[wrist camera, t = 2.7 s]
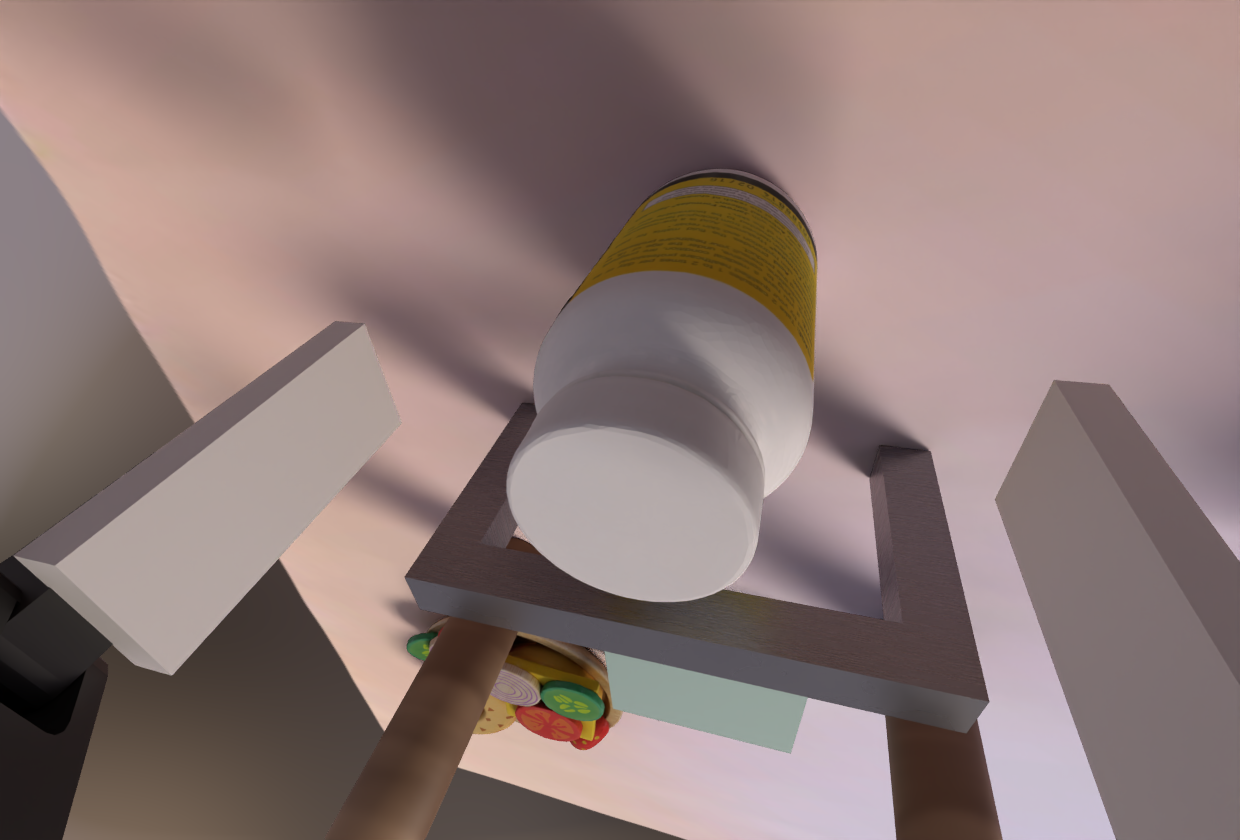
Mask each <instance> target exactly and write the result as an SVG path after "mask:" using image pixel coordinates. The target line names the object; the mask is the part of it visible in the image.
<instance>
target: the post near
mask: <svg viewBox="0 0 1240 840" xmlns="http://www.w3.org/2000/svg"><path fill="white" fill-rule="evenodd" d="M885 718H886V729H887V740H888V751H889V762H890V773H891V784H892V795H893V806H894V817H895V828H896V839H897V840H1003V839H1002V834H1001V830H1000V825H999V820H998V816H997V811H996V806H995V801H994V797H993V792H992V787H991V782H990V778H989V773H988V768H987V764H986V759H985V754H984V749H983V745H982V740H981V735H980V731H979V726H978V721H977V719H976V721H975V722H974V724H973V725H972V726H971V728H970V729H969V730H968V732H967V733H962V732H957V731H953V730H948V729H944V728H940V727H935V726H931V725H926V724H922V723H918V722H913V721H909V720H905V719H900V718H896V717H891V716H887V715H885Z"/></svg>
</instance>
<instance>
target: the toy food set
mask: <svg viewBox="0 0 1240 840" xmlns="http://www.w3.org/2000/svg"><path fill="white" fill-rule="evenodd" d="M448 619H449V617H447V618H444V619H442V620H440V621H438V622H437V623H435V624H434V625H432V626H431V627H430V628H429V630H428V631H427V633H421V634H418V635H414V636H413V637H411V638H410V639H409V640H408V643H407V651H408V652H409V653H410V654H411V655H413V656H414V657H416V658H418V659H421V660H424V661H425V659H426V658H427V656H428V654H429V652H430V651H431V649H432V647H433V645H434V644H435V642H436V640H437V638H438V636H439V635H440V633H441V631H442V629H443V628H444V626H445V624H446V622H447V621H448ZM622 712H623V711H620V710H616V709H613V706H612V699H611V692H610V686H609V679H608V672H607V669H606V668H605V667H604V666H603V664H602V663H601V662H600V661H599V660H598V659H597V658H596V657H595V656H594V655H593V654H591V653H590V652H589V651H588V650H587V649H585V648H584V647H582V646H580V645H575V644H571V643H566V642H562V641H558V640H553V639H549V638H544V637H540V636H536V635H531V634H527V633H522V632H518V633H517V636H516V638H515V640H514V642H513V645H512V647H511V649H510V651H509V653H508V656H507V658H506V660H505V662H504V665H503V667H502V669H501V671H500V674H499V676H498V678H497V680H496V682H495V685H494V687H493V689H492V691H491V694H490V696H489V698H488V700H487V702H486V705H485V707H484V709H483V711H482V714H481V716H480V718H479V720H478V722H477V725H476V727H475V729H474V731H473V734H491V733H496V732H498V731H501V730H504V729H506V728H508V727H509V726H510V725H511V724H512V723H513V722H514V721H516V722H519V723H521V724H522V725H523V726H524V727H526V728H527V729H528V730H530V731H532V732H534V733H535V734H538V735H540V736H542V737H544V738H548V739H552V740H557V741H566V742H567V741H570V742H571V744H572V745H573V746H574V747H575V748H577V749H580V750H587V749H590V748H592V747H594V746H595V745H596V744H598V743H599V742H600V741H601V740H602V739H603V738H604V737H605V736H606V734H607V733H608V731H609V728H611V727H613V726H614V725H615V724H616V723H617V722H618V721H619V720H620V718H621V716H622Z"/></svg>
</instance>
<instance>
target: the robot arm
mask: <svg viewBox="0 0 1240 840" xmlns="http://www.w3.org/2000/svg"><path fill="white" fill-rule="evenodd" d="M401 423H402V422H401V419H400V416H399V414H398V411H397V408H396V406H395V403H394V400H393V398H392V395H391V392H390V390H389V387H388V384H387V382H386V379H385V376H384V374H383V371H382V368H381V366H380V363H379V360H378V358H377V355H376V352H375V350H374V347H373V344H372V342H371V339H370V336H369V334H368V331H367V328H366V326H365V324H363V323H351V322H339V321H335V322H333V323H332V324H331V325H329V326H328V327H327V328H325V329H324V330H322V331H321V332H320V333H318V334H317V335H316V336H314V337H313V338H311V339H310V340H309V341H307V342H306V343H305V344H303V345H302V346H300V347H299V348H298V349H296V350H295V351H294V352H292V353H291V354H289V355H288V356H287V357H285V358H284V359H283V360H281V361H280V362H278V363H277V364H276V365H274V366H273V367H272V368H270V369H269V370H267V371H266V372H265V373H263V374H262V375H261V376H259V377H258V378H256V379H255V380H254V381H252V382H251V383H250V384H248V385H247V386H245V387H244V388H243V389H241V390H240V391H239V392H237V393H236V394H234V395H233V396H232V397H230V398H229V399H228V400H226V401H225V402H223V403H222V404H221V405H219V406H218V407H217V408H215V409H214V410H212V411H211V412H210V413H208V414H207V415H206V416H204V417H203V418H201V419H200V420H199V421H197V422H196V423H195V424H193V425H192V426H191V427H189V428H188V429H186V430H185V431H184V432H182V433H181V434H179V435H178V436H177V437H175V438H174V439H173V440H171V441H170V442H169V443H167V444H166V445H164V446H163V447H162V448H160V449H159V450H158V451H156V452H155V453H153V454H151V455H150V456H149V457H147V458H146V459H145V460H143V461H142V462H140V463H139V464H138V465H136V466H135V467H133V468H132V469H131V470H129V471H128V472H127V473H126V474H124V475H123V476H122V477H120V478H118V479H117V480H116V481H115V482H113V483H112V484H110V485H109V486H107V487H106V488H105V489H103V491H101V492H100V493H99V494H96V495H95V496H94V497H92V498H91V499H89V500H88V501H87V502H85V503H84V504H83V505H81V506H80V507H79V508H77V509H76V510H74V511H73V512H72V513H70V514H69V515H67V516H66V517H65V518H63V519H62V520H61V521H59V522H58V523H56V524H55V525H54V526H52V527H51V528H50V529H48V530H47V531H45V532H44V533H43V534H41V535H40V536H39V537H37V538H36V539H34V540H33V541H32V542H31V543H29V544H28V545H26V546H25V547H23V548H22V549H21V550H19V551H18V552H17V553H15V554H14V555H13V556H11V557H9V558H8V559H6V560H5V561H3V562H2V563H0V840H62V838H63V835H64V831H65V828H66V824H67V820H68V817H69V813H70V810H71V806H72V802H73V798H74V795H75V792H76V788H77V785H78V781H79V778H80V774H81V770H82V767H83V763H84V760H85V756H86V752H87V749H88V745H89V741H90V738H91V735H92V731H93V727H94V724H95V720H96V717H97V713H98V710H99V706H100V702H101V699H102V695H103V692H104V688H105V684H106V681H107V677H108V664H107V663H106V662H105V661H104V660H103V659H102V658H101V657H100V656H101V655H102V654H103V653H104V652H105V651H106V650H107V649H108V648H109V647H110V646H111V645H113V646H115V647H116V648H117V649H118V650H119V651H120V652H121V653H123V655H124V656H126V657H127V658H128V659H129V660H130V661H131V662H132V663H133V664H135V665H137V666H140V667H144V668H147V669H151V670H154V671H158V672H161V673H165V674H168V675H173V674H174V673H175V671H176V670H177V669H178V668H179V667H180V666H181V665H182V664H183V663H184V662H185V660H186V659H187V658H188V657H189V656H190V655H191V653H192V652H194V650H195V649H196V648H197V647H198V646H199V645H200V644H201V643H202V642H203V641H204V639H206V637H207V636H208V635H209V634H210V633H211V632H212V631H213V630H214V628H216V626H217V625H218V624H219V623H220V622H221V621H222V620H223V619H224V618H225V617H226V615H227V614H228V613H229V612H230V611H231V610H232V609H233V608H234V607H235V606H236V604H237V603H238V602H239V601H240V600H241V599H242V598H243V597H244V596H245V594H247V592H248V591H249V590H250V589H251V588H252V587H253V586H254V585H255V584H256V583H257V581H258V580H259V579H260V578H261V577H262V576H263V574H265V573H266V572H267V570H268V569H269V568H270V567H271V566H272V565H273V564H274V563H275V562H276V561H277V560H278V558H279V557H280V556H281V555H282V554H283V553H284V552H285V551H286V550H287V549H288V547H289V546H290V545H291V544H292V543H293V542H294V541H295V540H296V539H297V538H298V536H299V535H300V534H301V533H302V532H303V531H304V530H305V529H306V528H307V527H308V526H309V524H310V523H311V522H312V521H313V520H314V519H315V518H316V517H317V516H318V515H319V513H320V512H321V511H322V510H323V509H324V508H325V507H326V506H327V505H328V504H329V502H330V501H331V500H332V499H333V498H334V497H335V496H336V495H337V494H338V493H339V491H340V490H341V489H342V488H343V487H344V486H345V485H346V484H347V483H348V482H349V481H350V479H351V478H352V477H353V476H354V475H355V474H356V473H357V472H358V471H359V470H360V468H361V467H362V466H363V465H364V464H365V463H366V462H367V461H368V460H369V459H370V457H371V456H372V455H373V454H374V453H375V452H376V451H377V450H378V449H379V448H380V447H381V445H382V444H383V443H384V442H385V441H386V440H387V439H388V438H389V437H390V436H391V434H392V433H393V432H394V431H395V430H396V429H397V428H398V427H399V426H400V425H401ZM995 501H996V504H997V507H998V509H999V512H1000V515H1001V518H1002V521H1003V523H1004V526H1005V529H1006V532H1007V535H1008V537H1009V540H1010V543H1011V546H1012V549H1013V551H1014V554H1015V557H1016V560H1017V563H1018V565H1019V568H1020V571H1021V574H1022V577H1023V580H1024V582H1025V585H1026V588H1027V591H1028V594H1029V596H1030V599H1031V602H1032V605H1033V608H1034V610H1035V613H1036V616H1037V619H1038V622H1039V624H1040V627H1041V630H1042V633H1043V636H1044V638H1045V641H1046V644H1047V647H1048V650H1049V652H1050V655H1051V658H1052V661H1053V664H1054V667H1055V669H1056V672H1057V675H1058V678H1059V681H1060V683H1061V686H1062V689H1063V692H1064V695H1065V697H1066V700H1067V703H1068V706H1069V709H1070V711H1071V714H1072V717H1073V720H1074V723H1075V725H1076V728H1077V731H1078V734H1079V737H1080V739H1081V742H1082V745H1083V748H1084V751H1085V754H1086V756H1087V759H1088V762H1089V765H1090V768H1091V770H1092V773H1093V776H1094V779H1095V782H1096V784H1097V787H1098V790H1099V793H1100V796H1101V798H1102V801H1103V804H1104V807H1105V810H1106V812H1107V815H1108V818H1109V821H1110V824H1111V826H1112V829H1113V832H1114V835H1115V838H1116V840H1240V562H1239V560H1238V559H1237V558H1236V556H1235V555H1234V554H1233V552H1232V551H1231V550H1230V548H1229V547H1228V545H1227V544H1226V543H1225V541H1224V540H1223V539H1222V537H1221V536H1220V535H1219V533H1218V532H1217V531H1216V529H1215V528H1214V526H1213V525H1212V524H1211V522H1210V521H1209V520H1208V518H1207V517H1206V516H1205V514H1204V513H1203V511H1202V510H1201V509H1200V507H1199V506H1198V505H1197V503H1196V502H1195V501H1194V499H1193V498H1192V497H1191V495H1190V494H1189V492H1188V491H1187V490H1186V488H1185V487H1184V486H1183V484H1182V483H1181V482H1180V480H1179V479H1178V478H1177V476H1176V475H1175V473H1174V472H1173V471H1172V469H1171V468H1170V467H1169V465H1168V464H1167V463H1166V461H1165V460H1164V459H1163V457H1162V456H1161V454H1160V453H1159V452H1158V450H1157V449H1156V448H1155V446H1154V445H1153V444H1152V442H1151V441H1150V440H1149V438H1148V437H1147V435H1146V434H1145V433H1144V431H1143V430H1142V429H1141V427H1140V426H1139V425H1138V423H1137V422H1136V421H1135V419H1134V418H1133V416H1132V415H1131V414H1130V412H1129V411H1128V410H1127V408H1126V407H1125V406H1124V404H1123V403H1122V401H1121V400H1120V399H1119V397H1118V396H1117V395H1116V393H1115V392H1114V391H1113V389H1112V388H1111V387H1110V385H1108V384H1095V383H1083V382H1071V381H1059V380H1054V381H1053V383H1052V385H1051V387H1050V389H1049V391H1048V393H1047V395H1046V397H1045V399H1044V401H1043V403H1042V405H1041V407H1040V409H1039V411H1038V413H1037V415H1036V417H1035V419H1034V421H1033V424H1032V426H1031V428H1030V430H1029V432H1028V434H1027V436H1026V438H1025V440H1024V442H1023V444H1022V446H1021V448H1020V450H1019V452H1018V454H1017V456H1016V458H1015V460H1014V462H1013V464H1012V466H1011V468H1010V470H1009V472H1008V474H1007V476H1006V478H1005V480H1004V482H1003V484H1002V486H1001V488H1000V490H999V492H998V494H997V496H996V498H995Z"/></svg>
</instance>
